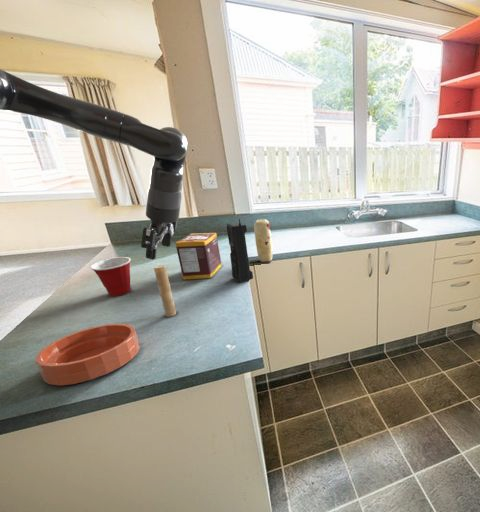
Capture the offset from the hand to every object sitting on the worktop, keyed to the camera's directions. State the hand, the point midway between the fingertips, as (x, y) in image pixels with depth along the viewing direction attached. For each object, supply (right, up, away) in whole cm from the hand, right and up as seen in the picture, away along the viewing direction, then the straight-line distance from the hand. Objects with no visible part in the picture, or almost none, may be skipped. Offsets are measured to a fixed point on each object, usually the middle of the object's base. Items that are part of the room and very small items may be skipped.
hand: (158, 251), depth 88 cm
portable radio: (+9, -11, +33) cm, 36 cm away
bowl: (-2, -27, -17) cm, 32 cm away
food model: (+10, -3, +55) cm, 56 cm away
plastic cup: (-28, -15, +19) cm, 37 cm away
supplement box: (-10, -8, +39) cm, 41 cm away
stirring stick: (+1, -20, +4) cm, 20 cm away
